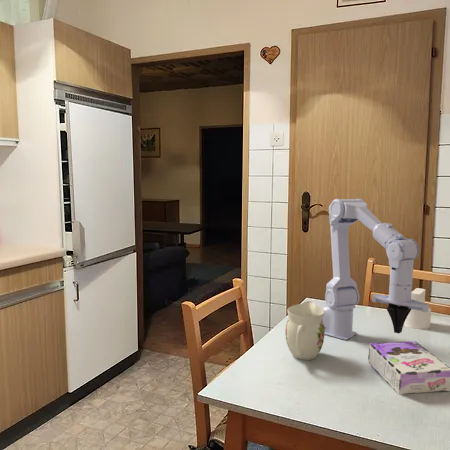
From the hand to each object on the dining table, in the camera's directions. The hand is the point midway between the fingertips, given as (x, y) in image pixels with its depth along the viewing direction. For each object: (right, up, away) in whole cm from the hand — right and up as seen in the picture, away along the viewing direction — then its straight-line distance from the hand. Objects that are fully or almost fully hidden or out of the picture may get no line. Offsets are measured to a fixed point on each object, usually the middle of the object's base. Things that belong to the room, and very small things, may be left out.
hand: (397, 332), depth 125 cm
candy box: (-2, -5, 0) cm, 5 cm away
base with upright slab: (+19, -6, +34) cm, 39 cm away
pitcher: (-25, -8, +5) cm, 27 cm away
